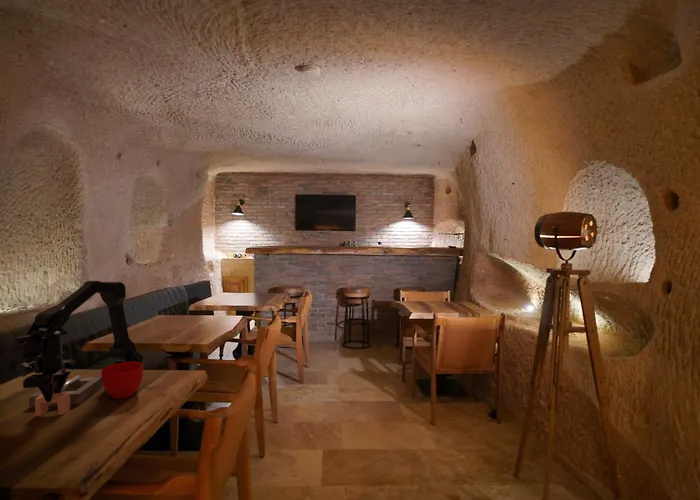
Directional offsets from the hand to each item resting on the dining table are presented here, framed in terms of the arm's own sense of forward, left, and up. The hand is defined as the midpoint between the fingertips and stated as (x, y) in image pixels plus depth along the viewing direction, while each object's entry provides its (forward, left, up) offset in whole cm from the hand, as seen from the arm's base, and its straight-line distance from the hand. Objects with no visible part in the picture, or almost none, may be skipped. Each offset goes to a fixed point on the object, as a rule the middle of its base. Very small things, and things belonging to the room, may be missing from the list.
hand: (52, 399), depth 128 cm
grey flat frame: (+3, -14, -4) cm, 14 cm away
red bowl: (-17, -14, -5) cm, 22 cm away
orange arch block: (0, 0, -4) cm, 4 cm away
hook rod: (+3, -14, -1) cm, 14 cm away
